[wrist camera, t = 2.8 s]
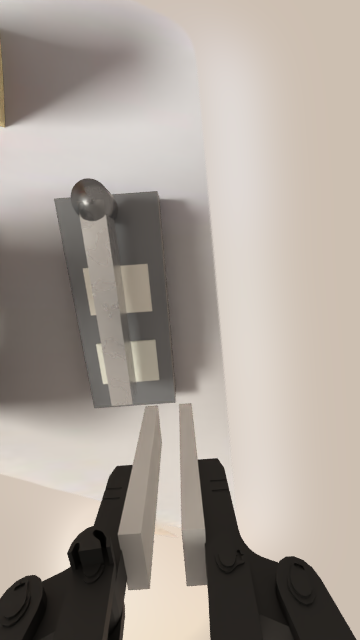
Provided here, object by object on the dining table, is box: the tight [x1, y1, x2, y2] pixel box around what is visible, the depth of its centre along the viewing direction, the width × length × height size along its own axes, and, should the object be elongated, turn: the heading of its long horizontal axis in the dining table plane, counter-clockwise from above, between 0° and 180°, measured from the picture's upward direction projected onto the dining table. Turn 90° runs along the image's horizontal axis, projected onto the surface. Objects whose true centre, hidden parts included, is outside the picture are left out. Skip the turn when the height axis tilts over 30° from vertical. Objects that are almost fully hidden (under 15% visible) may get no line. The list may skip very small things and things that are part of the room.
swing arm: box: [71, 179, 137, 406], centre depth 24 cm, size 4×24×3 cm, turn 4°
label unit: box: [54, 191, 176, 408], centre depth 29 cm, size 12×28×5 cm, turn 4°
